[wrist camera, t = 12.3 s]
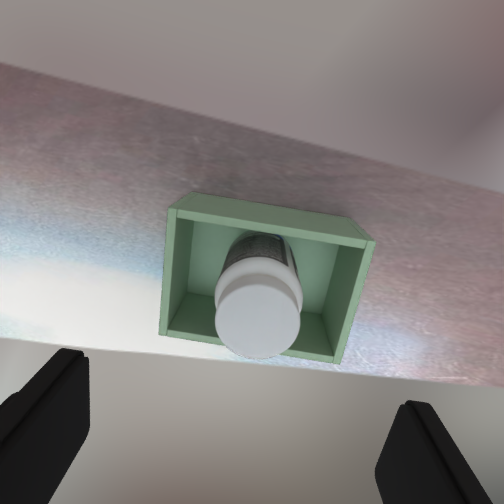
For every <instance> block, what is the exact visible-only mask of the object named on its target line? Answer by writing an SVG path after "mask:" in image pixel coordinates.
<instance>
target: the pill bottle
mask: <svg viewBox="0 0 504 504" xmlns="http://www.w3.org/2000/svg"><path fill="white" fill-rule="evenodd" d="M302 305H303V291H302V287H301V283H300V279H299V275H298V270H297V266H296V262H295V258H294V254H293V251H292V249H291V247H290V245H289V244H288V242H287V241H286V240H285V239H284V238H283V237H282V236H281V235H277V234H271V233H265V232H259V231H253V230H250V231H247V232H245V233H243V234H242V235H240V236H239V237H238V238H237V239H236V240H235V241H234V242H233V243H232V245H231V246H230V248H229V250H228V253H227V256H226V259H225V262H224V265H223V268H222V271H221V274H220V276H219V279H218V281H217V284H216V287H215V306H216V314H215V327H216V331H217V334H218V336H219V338H220V340H221V341H222V343H223V344H224V345H225V346H226V347H227V348H228V349H229V350H231V351H232V352H234V353H235V354H237V355H240V356H242V357H245V358H249V359H266V358H271V357H274V356H277V355H279V354H281V353H283V352H284V351H285V350H287V349H288V348H289V347H290V346H291V345H292V344H293V342H294V341H295V339H296V337H297V335H298V332H299V329H300V312H301V309H302Z"/></svg>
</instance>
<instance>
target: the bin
mask: <svg viewBox="0 0 504 504" xmlns="http://www.w3.org/2000/svg"><path fill="white" fill-rule="evenodd" d="M250 230H253V231H259V232H265V233H271V234H277V235H281V236H282V237H283V238H284V239H285V240H286V241H287V242H288V244H289V245H290V247H291V249H292V251H293V254H294V258H295V262H296V266H297V270H298V275H299V279H300V283H301V287H302V291H303V305H302V309H301V312H300V329H299V332H298V335H297V337H296V339H295V341H294V342H293V344H292V345H291V346H290V347H289V348H288V349H287V350H285V351H284V352H283V353H281V354H279V355H284V356H290V357H296V358H302V359H308V360H314V361H321V362H327V363H333V364H339V365H340V363H341V360H342V356H343V353H344V350H345V346H346V343H347V340H348V336H349V333H350V330H351V326H352V323H353V319H354V316H355V313H356V309H357V306H358V303H359V299H360V296H361V292H362V289H363V286H364V282H365V279H366V276H367V272H368V269H369V265H370V262H371V259H372V255H373V252H374V249H375V245H376V241H375V240H374V239H373V238H372V237H371V236H369V235H368V234H367V233H366V232H365V231H364V230H363V229H362V228H361V227H360V226H359V225H358V224H357V223H356V222H355V221H354V220H352V219H351V218H347V217H341V216H335V215H329V214H323V213H317V212H311V211H305V210H299V209H293V208H287V207H281V206H275V205H269V204H262V203H256V202H250V201H244V200H238V199H232V198H226V197H220V196H214V195H208V194H202V193H196V192H191V193H189V194H188V195H186V196H185V197H183V198H182V199H180V200H179V201H177V202H176V203H174V204H173V205H171V206H170V207H168V212H167V226H166V240H165V253H164V267H163V280H162V294H161V308H160V321H159V335H162V336H168V337H174V338H180V339H186V340H192V341H198V342H205V343H211V344H217V345H223V346H225V345H224V344H223V343H222V341H221V340H220V338H219V336H218V334H217V331H216V327H215V314H216V306H215V287H216V284H217V281H218V279H219V276H220V274H221V271H222V268H223V265H224V262H225V259H226V256H227V253H228V250H229V248H230V246H231V245H232V243H233V242H234V241H235V240H236V239H237V238H238V237H239V236H240V235H242V234H243V233H245V232H247V231H250Z"/></svg>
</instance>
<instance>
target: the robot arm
mask: <svg viewBox="0 0 504 504" xmlns="http://www.w3.org/2000/svg"><path fill="white" fill-rule="evenodd" d="M89 396H90V392H89V358H88V357H84V353H83V351H79V350H72V349H66V348H61V349H60V350H58V351H57V352H56V353H55V354H54V355H53V356H52V357H51V359H50V360H49V361H48V362H47V363H46V364H45V365H44V366H43V367H42V368H41V369H40V370H39V371H38V372H37V373H36V374H35V375H34V377H32V378H31V379H30V380H29V382H28V383H27V384H26V385H25V386H24V387H23V388H22V389H21V390H20V391H19V392H16V393H14V394H12V395H11V396H9V397H8V398H7V399H6V400H5V401H4V402H3V403H2V404H1V405H0V504H48V503H49V501H50V499H51V498H52V496H53V494H54V492H55V491H56V489H57V487H58V486H59V484H60V482H61V480H62V479H63V477H64V475H65V474H66V472H67V470H68V468H69V467H70V465H71V463H72V461H73V460H74V458H75V457H76V455H77V453H78V451H79V450H80V448H81V446H82V444H83V443H84V441H85V439H86V437H87V435H88V432H89V428H90V397H89ZM375 479H376V483H377V486H378V489H379V492H380V495H381V498H382V501H383V504H493V503H492V502H491V500H490V498H489V497H488V495H487V494H486V492H485V490H484V489H483V487H482V486H481V484H480V483H479V481H478V479H477V478H476V476H475V474H474V473H473V471H472V470H471V468H470V466H469V465H468V464H467V462H466V460H465V458H464V457H463V455H462V454H461V452H460V450H459V449H458V447H457V446H456V444H455V443H454V441H453V439H452V438H451V436H450V434H449V433H448V431H447V430H446V428H445V426H444V425H443V423H442V422H441V420H440V418H439V417H438V415H437V414H436V412H435V411H434V409H433V407H432V406H431V405H430V404H429V403H425V402H419V401H412V400H408V401H406V403H405V404H402V405H400V407H399V409H398V411H397V414H396V416H395V419H394V422H393V424H392V427H391V429H390V432H389V434H388V437H387V439H386V442H385V444H384V447H383V449H382V452H381V454H380V457H379V459H378V462H377V465H376V467H375Z"/></svg>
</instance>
